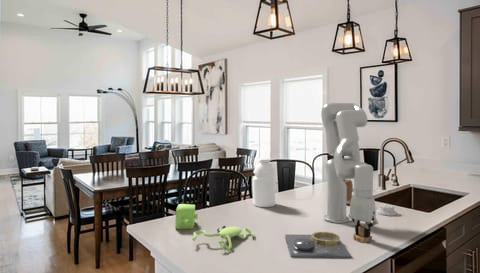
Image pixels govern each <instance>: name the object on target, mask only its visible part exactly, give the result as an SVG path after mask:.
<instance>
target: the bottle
mask: <svg viewBox="0 0 480 273" xmlns="http://www.w3.org/2000/svg"><path fill="white" fill-rule="evenodd" d="M270 160H271V159H270V158H265V157H263V158H259V159H258V164H256V165H255V167H254V169H253V171H252V172H253V174H254V176H253V177H252V204H253V206H254V207H259V208H270V207H274V206H276V202H277V201H276V190H277V189H276V185H277V184H276V182H277V181H276V179H277V178H276V177H275V174H276V170H275V168H274V166H273V165H272V163H270V162H271V161H270Z"/></svg>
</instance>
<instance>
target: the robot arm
mask: <svg viewBox="0 0 480 273" xmlns="http://www.w3.org/2000/svg"><path fill="white" fill-rule="evenodd" d="M320 112H321V113H320V116H321V121H322V124H323V126H324V129H325V141H326V151H327V153H328V155H330V156H333V158H330V159H329V160H326V163H325V174H326V180H327V181H326V189H327V190H326V193H327V194H326V196H327V197H326V214H325V215H324V216H323V220H325V221H326V222H328V223H334V224H346V223H348V222H350V220H351V221H352V222H353V225H354V229H355V230H354V231H355V232H354V234H356V235H358V226H360V225H361V222H364V226H366V228H365V229H364V237H365V238H367V237H370V236H371V229H372V228H373V226H376V225H379V221H378V218H377V209H376V201H375V197H374V195H373V194H374V191H373V190H374V167H373V166H372V165H371V164H367V163H366V162H363V161H361V154H360V146H359V141H360V137H359V134H358V133H359V132H358V128H364V127H366V126H367V125H368V115H367V113H366V111H365V110H364V109H363V108H361V107H360V106H359V105H358V104H356V103H353V102H329V103H326V104H324V105H323V106H322V108H321V111H320ZM345 156H346V157H347V158H345ZM343 157H344V158H343ZM342 179H350V180H352V179H353V180H354V181H353V189H352V193H353V194H352V198H351V204H349V214H348V216H347V204H346V195H347V187H346V184H345V182H344V181H343V180H342Z"/></svg>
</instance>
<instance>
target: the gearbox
mask: <svg viewBox="0 0 480 273" xmlns="http://www.w3.org/2000/svg"><path fill="white" fill-rule="evenodd" d="M198 216H199V215H198V213H196V204H191V203H190V204H189V203H187V204H186V203H180V204H178V205H177V207H176V210H175V229H178V230H187V229H188V230H189V229H192V230H193V229H194V226H195V221H196V220H198ZM195 219H196V220H195Z"/></svg>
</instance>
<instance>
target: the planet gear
mask: <svg viewBox="0 0 480 273" xmlns="http://www.w3.org/2000/svg"><path fill="white" fill-rule="evenodd" d="M365 228H366V226H365V225H362V224H360V226H358V235H356V234H355V233H353V235H352V239H353V240H354V241H356V242H357V243H360V242H361V243H363V244H367V243H372V242H373V236H372V235H370V237H367V238H365V237H364V229H365Z"/></svg>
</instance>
